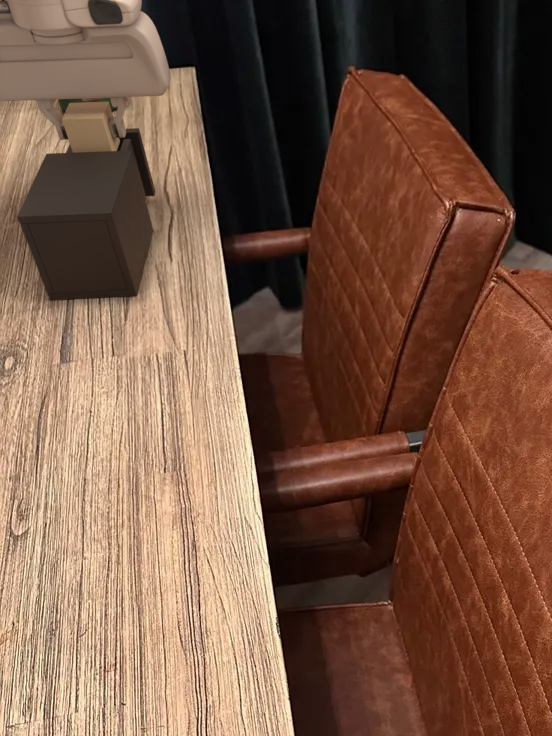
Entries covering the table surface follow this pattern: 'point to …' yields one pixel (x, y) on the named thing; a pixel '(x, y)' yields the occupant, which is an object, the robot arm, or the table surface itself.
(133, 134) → the drawer
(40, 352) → the table surface
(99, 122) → the block
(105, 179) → the cabinet
